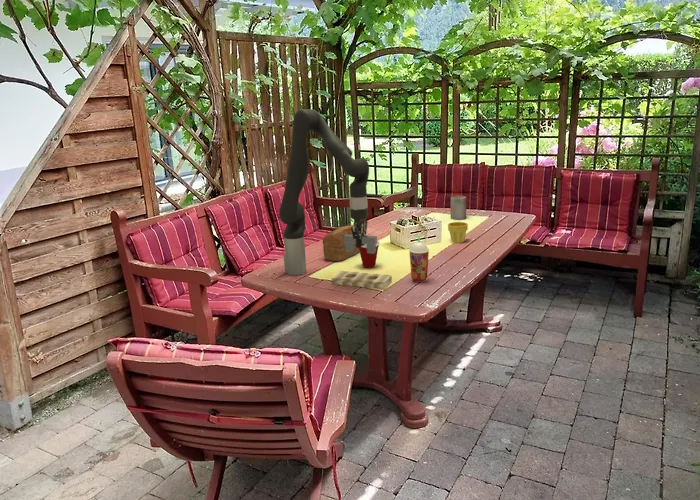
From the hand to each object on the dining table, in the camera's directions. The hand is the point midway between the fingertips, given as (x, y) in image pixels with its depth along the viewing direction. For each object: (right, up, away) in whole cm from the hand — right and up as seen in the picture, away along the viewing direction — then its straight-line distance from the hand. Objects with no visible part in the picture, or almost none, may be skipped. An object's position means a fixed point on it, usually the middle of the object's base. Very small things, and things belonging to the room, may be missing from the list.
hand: (360, 246), depth 243 cm
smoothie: (+26, -15, +5) cm, 30 cm away
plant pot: (+54, +3, +63) cm, 83 cm away
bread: (-7, -4, +48) cm, 49 cm away
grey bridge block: (0, -2, +1) cm, 2 cm away
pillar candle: (+64, +18, +116) cm, 134 cm away
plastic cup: (+5, -10, +27) cm, 29 cm away
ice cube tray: (+1, -16, +5) cm, 17 cm away
